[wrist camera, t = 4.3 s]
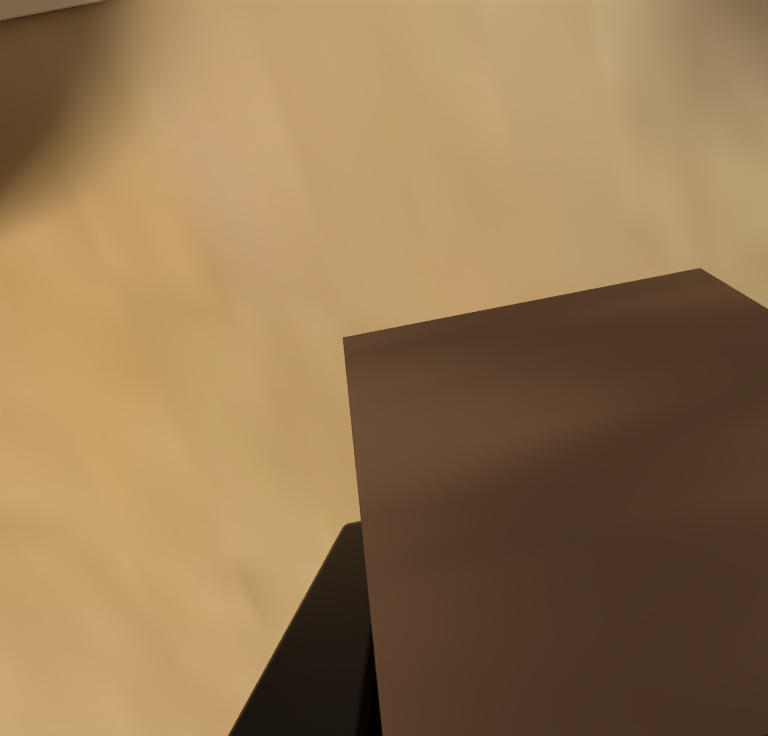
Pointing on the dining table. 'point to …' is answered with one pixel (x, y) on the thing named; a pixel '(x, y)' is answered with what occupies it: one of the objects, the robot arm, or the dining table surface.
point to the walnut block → (569, 514)
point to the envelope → (36, 6)
